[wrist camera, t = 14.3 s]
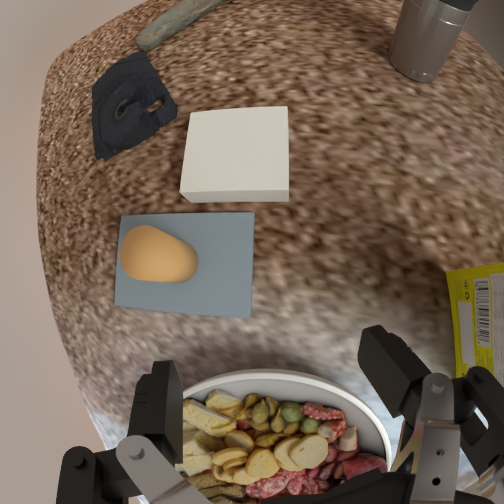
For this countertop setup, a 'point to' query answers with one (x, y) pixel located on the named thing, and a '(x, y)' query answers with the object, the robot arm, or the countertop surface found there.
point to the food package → (478, 318)
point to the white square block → (237, 156)
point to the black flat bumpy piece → (128, 105)
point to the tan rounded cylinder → (157, 256)
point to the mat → (209, 265)
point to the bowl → (276, 436)
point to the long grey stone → (173, 22)
